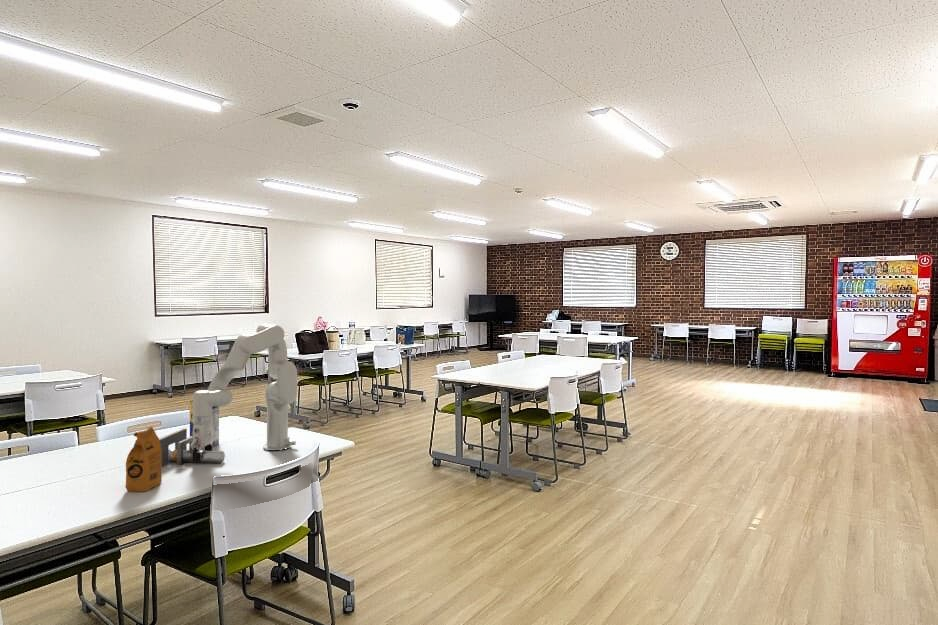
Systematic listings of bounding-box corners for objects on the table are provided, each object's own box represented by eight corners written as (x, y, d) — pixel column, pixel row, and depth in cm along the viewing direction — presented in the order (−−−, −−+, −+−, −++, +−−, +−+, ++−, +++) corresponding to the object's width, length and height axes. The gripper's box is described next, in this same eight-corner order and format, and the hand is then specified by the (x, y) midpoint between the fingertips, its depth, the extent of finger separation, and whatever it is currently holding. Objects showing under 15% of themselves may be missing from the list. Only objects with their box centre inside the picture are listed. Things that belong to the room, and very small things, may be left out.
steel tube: (224, 461, 246) (224, 450, 246) (218, 464, 241) (219, 453, 241) (171, 459, 247) (171, 448, 247) (164, 462, 242) (165, 451, 242)
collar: (194, 458, 250) (195, 436, 249) (180, 465, 239) (180, 442, 238) (191, 457, 250) (191, 436, 249) (177, 465, 239) (177, 442, 238)
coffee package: (120, 492, 206) (120, 433, 205) (141, 481, 218) (140, 425, 218) (147, 493, 206) (147, 433, 205) (166, 481, 218) (166, 426, 217)
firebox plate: (186, 454, 255) (186, 428, 254) (159, 468, 234) (159, 440, 234) (183, 454, 255) (183, 428, 254) (155, 468, 234) (155, 439, 234)
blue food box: (211, 447, 267) (211, 401, 266) (189, 446, 267) (189, 401, 267) (219, 443, 273) (219, 399, 273) (197, 443, 274) (197, 398, 273)
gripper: (200, 424, 234) (200, 464, 235) (220, 415, 252) (220, 453, 252) (182, 423, 235) (182, 464, 235) (204, 414, 252) (204, 452, 253)
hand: (202, 458), depth 244 cm, fingers open, 9 cm apart
